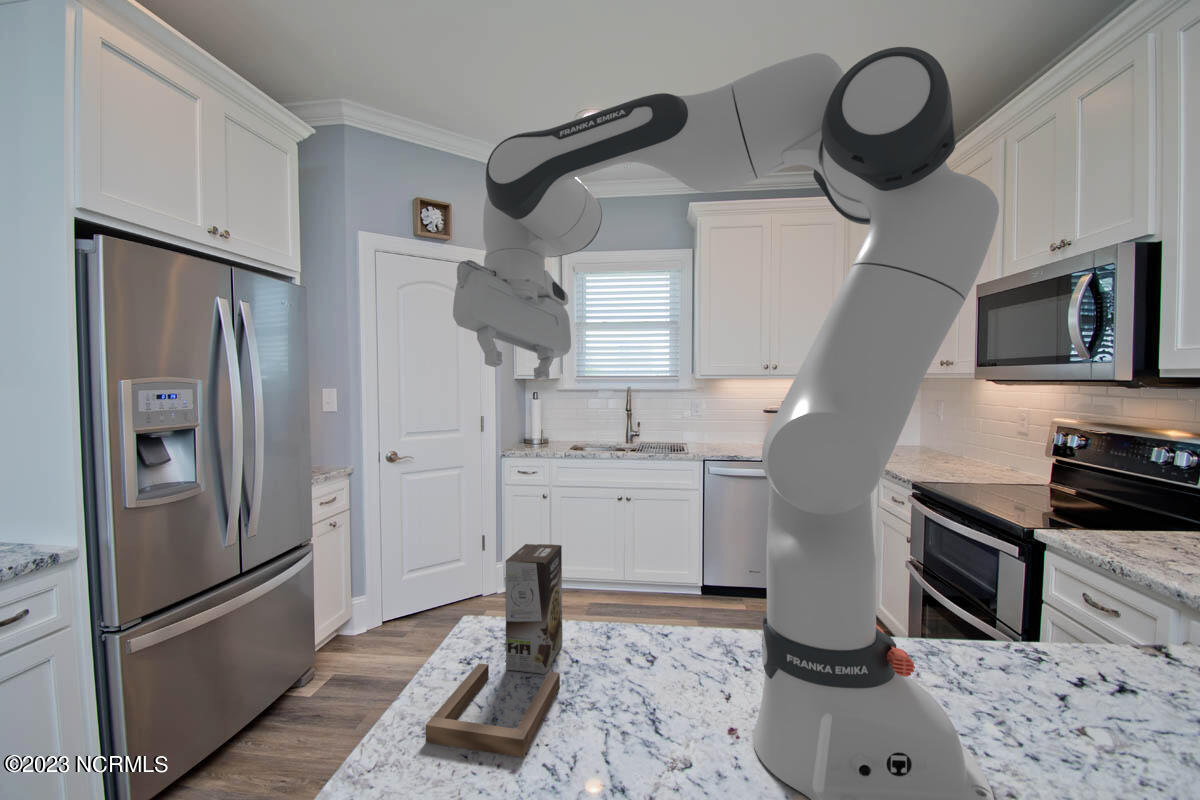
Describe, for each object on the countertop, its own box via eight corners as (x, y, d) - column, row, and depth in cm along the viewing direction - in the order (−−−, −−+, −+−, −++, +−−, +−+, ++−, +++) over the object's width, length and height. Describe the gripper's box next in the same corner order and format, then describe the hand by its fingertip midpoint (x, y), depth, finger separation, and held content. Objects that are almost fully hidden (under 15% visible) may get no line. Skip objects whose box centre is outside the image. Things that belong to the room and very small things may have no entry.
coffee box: (547, 675, 71) (545, 562, 71) (504, 670, 73) (503, 560, 72) (564, 643, 80) (563, 543, 80) (526, 640, 81) (525, 541, 81)
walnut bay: (559, 687, 68) (559, 672, 68) (523, 757, 55) (523, 739, 55) (478, 677, 71) (478, 663, 71) (425, 742, 58) (425, 724, 58)
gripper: (474, 245, 63) (476, 348, 59) (575, 298, 79) (581, 381, 76) (442, 263, 66) (442, 361, 63) (545, 310, 83) (549, 390, 79)
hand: (519, 372), depth 69 cm, fingers open, 8 cm apart
